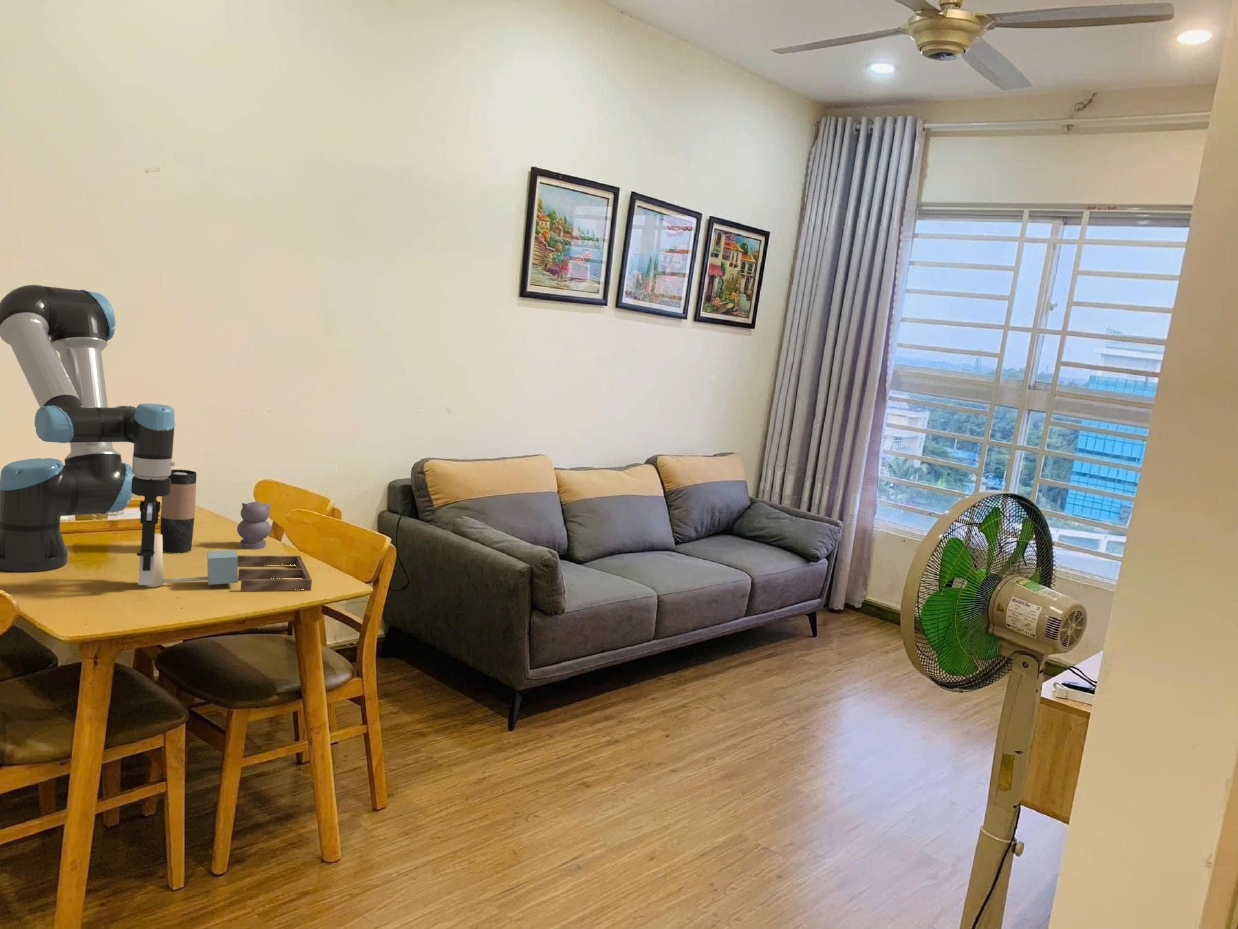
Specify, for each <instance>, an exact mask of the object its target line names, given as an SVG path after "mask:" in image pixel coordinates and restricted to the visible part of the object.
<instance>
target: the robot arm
mask: <svg viewBox="0 0 1238 929" xmlns="http://www.w3.org/2000/svg"><path fill="white" fill-rule="evenodd" d="M115 327H116V316H115V313H114V308H113V307H112V304H111V303H110V301H109V300H108V298H107V297H106V296H105V295H103V294H102V293H99V292H93V291H88V290H86V289H72V288H66V287H65V288H63V287H62V288H61V287H57V286H56V287H55V286H45V285H39V284H28V285H23V286H20V287H17V288H15V289H13V290H11V291H10V292H8V293H7V294H6V295H5V296H4V297H2V299H1V301H0V338H1V340H3V342H5V343H6V344H8V345H10V347H11V349H12V351H13V353H14V356H15V357H16V360H17V363H18V364H19V366H20V368H21V370H22V372H23V374H24V377H25V378H26V379H25V380H26V382H27V384H28V385H29V388H30V389H31V391H32V394H33V396H34V398H35V400H36V402H37V404H38V406H39V408H38V409H37V410H36V413H35V415H34V427H35V433H36V435H37V437H38V439H40V440H41V441H42V442H44V443H45V442H46V443H58V444H66V443H67V444H68V443H69V445H70V452H69V453H68V455H66V457H65V458H64V463H63V462H62V460H60V459H58V458H53V457H52V458H50V457H47V458H45V457H44V458H39V457H37V458H28V459H27V458H26V459H21V460H16V461H13V462H10V463H8V464H6V465H4V466H3V467H2V469H1V470H0V571H4V572H5V571H6V572H16V573H17V572H18V573H20V572H23V573H24V572H26V573H27V572H29V573H30V572H41V571H44V572H45V571H50V570H54V569H58V568H61V567H64V566H66V565H67V564H68V559H69V557H68V555H69V554H68V549H67V548H66V547H67V546H66V544H65V541H64V538H63V535H62V533H61V517H63V516H64V517H66V516H67V517H68V516H82V515H94V514H101V515H106V514H109V513H110V514H111V513H117V512H120V511H123V510H125V509H126V508H127V507H128V505H129V504H130V502H131V499H132V497H133V495H135V496H139V497H143V498H144V499H143V500H140V502H139V512H140V517H139V518H140V519H139V522H140V524H141V525H142V527H141V540H140V541H141V544H140V552H137V553H136V556H137V557H139V566H138V567H139V568H138V586H140V585H141V586H143V585H153V568H154V538H155V534H156V525H157V524H158V523H159V513H160V511H161V501H158V500H157V498H158V497H161V498H162V496H167V495H169V494H170V488H171V479H170V478H169V477H168V476H170V475H171V470H172V467H175V465H176V463H175V461H172V460H173V453H174V451H173V450H174V439H175V437H174V436H175V427H176V423H175V422H176V421H175V409H174V408H173V407H171V406H170V405H166V404H158V403H140V404H138V405H137V406H136V407H135V406H131V405H117V406H116V407H115V406H114V407H109V405H108V398H107V390H106V382H105V373H104V364H103V357H102V351H103V350H105V349H106V347H107V346H108V341H110V340H111V339H112V338H114V334H115V332H116V331H115V330H116V328H115ZM58 353H59V355H58ZM113 443H132V444H133V453H132V462H131V464H132V465H130V464H128V463H126V462H123V461H122V454H121V453H120V452H118V451H117V450H115V449H114V448H113Z"/></svg>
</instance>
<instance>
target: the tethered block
mask: <svg viewBox="0 0 1238 929" xmlns="http://www.w3.org/2000/svg"><path fill="white" fill-rule="evenodd" d="M206 552H207V565H206V566H207V576H198V577H197V576H194V577H179V578H165V579H164V552H163V540H162V534H160V533H155V538H154V568H153V585H142V586H143V587H145V588H156V587H160V586H163V585H164V584H169V583H170V584H171V583H182V582H183V583H184V582H186V583H187V582H199V581H200V582H201V581H207V583H208V586H209V585H211V586H212V585H223V584H224V585H225V584H237V583H239V580H238V574H239V566H238V557H237V555H238V553H237V550H236V549H231V550H215V551H213V550H212V551H206Z"/></svg>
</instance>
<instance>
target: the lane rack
mask: <svg viewBox="0 0 1238 929" xmlns="http://www.w3.org/2000/svg"><path fill="white" fill-rule="evenodd" d="M237 557H238V567H267V566H266V565H282V564H283V565H290V564H291V565H294V564H295V565H296V566H295V568H238V581H240V592H263V591H262V590H295V589H296V590H297V589H298V590H299V589H300V590H301V589H304V590H311V591H312V584H313V582H312V581H313V579H312V578H311V577H312V576H311V575H310V573H309V571H308V569H307V567H306V565H305V563H304V561H303V558H302V557H301V555H243V554H241V555H239V554H237ZM264 565H265V566H264ZM296 567H297V568H296ZM271 578H272V579H271ZM273 578H274V579H273ZM277 578H278V579H277ZM279 578H280V579H279ZM281 578H282V579H281ZM283 578H302V579H283ZM259 590H260V591H259Z"/></svg>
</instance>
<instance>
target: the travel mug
mask: <svg viewBox="0 0 1238 929" xmlns="http://www.w3.org/2000/svg"><path fill="white" fill-rule="evenodd" d="M168 477H169V478H170V479H171V488H170V494H169V495H167V496H162V497H161V504H160V511H161V512H160V528H159V529H160V532H159V534H162V540H163V553H167V554H184V553H189V552H191V551H192V548H193V539H194V538H193V536H194V535H193V534H194V526H195V525H194V524H195V514H196V513H195V512H196V494H197V492H196V491H197V489H196V488H197V472H196V471H193V470H189V469H171V475H170V476H168Z"/></svg>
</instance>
